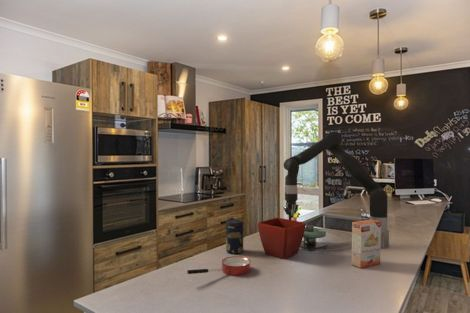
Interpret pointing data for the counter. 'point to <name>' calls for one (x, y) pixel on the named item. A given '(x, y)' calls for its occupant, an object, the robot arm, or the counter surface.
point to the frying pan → (229, 266)
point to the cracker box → (366, 243)
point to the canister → (234, 236)
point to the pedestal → (311, 244)
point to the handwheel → (312, 231)
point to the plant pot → (281, 236)
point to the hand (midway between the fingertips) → (291, 221)
